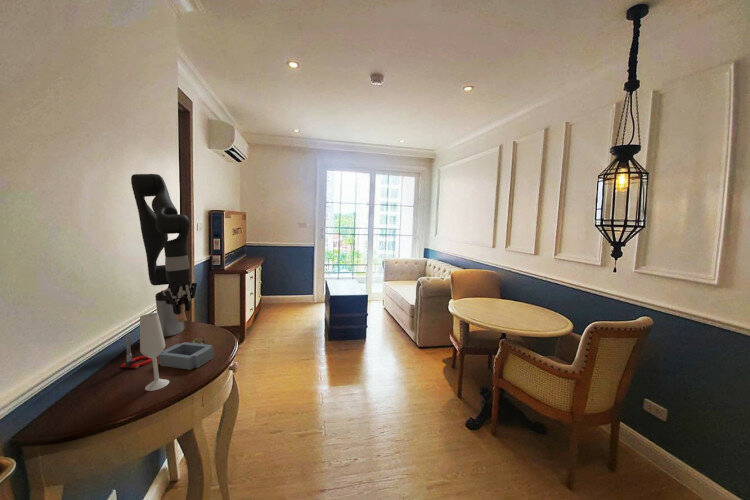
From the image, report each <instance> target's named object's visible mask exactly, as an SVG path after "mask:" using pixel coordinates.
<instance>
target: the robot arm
mask: <svg viewBox="0 0 750 500" xmlns="http://www.w3.org/2000/svg"><path fill="white" fill-rule="evenodd" d="M130 183H131V188H132V192H133V196H134V200H135V204H136V207H137V208H136V209H137V212H138V219H139V224H140V230H141V231H140V232H141V236H142V241H143V245H144V250H145V254H146V255H145V256H146V262H147V271H148V272H147V273H148V279H149V283H150V284H151V286H165V285H168V286H167V288H166V289H163V290H161V291H159V292H157V293H156V294H155V297H154V298H155V305H156V313H157V314H158V316H159V320H160V324H161V328H162V332H163V337H164V338H165V337H171V336H176V335H178V334H181V333H182V332H183V331H184V330H185V321H184V322H179V320H177V315H179V314H181V312H180V305H179V300H180V298H181V292H182V290H184V291H185V292H186V293H185V294H184V295H183V296H182V297H183V298H184V301H185V311H186V312H189V311H191V308H192V307H191V300H192V299H195V296H196V291H197V287H198V283H197V282H191V280H190V279H191V278H192V277H191V269H190V259H189V257H188V245H187V244H188V238H189V237H188V236H189V232H190V229H191V220H190V219H189V217H188V216H187V215H185V214H183V213H181V214H179V213H178V209H177V208H176V206H175V205H174V203H173V202H172V200H171V199H172V198H171V197H170V193H169V190H168V188H167V185H166V184H167V183H166V182H165V180H164V177H162V175H160V174H158V173H136V174H132V175H131V177H130ZM146 197H153V199H152V201H151V207H150V206H149V204H148V203H147V201H146ZM170 234H172V235H174V234H177V237H176V238H173V239H170V240H169V235H170ZM163 250H164V259H165V260H164V264H163V265H162V264H161V265H160V264H159V265H157V261H158V258H159V256H160V254H161V252H162V251H163ZM176 295H177V296H176Z"/></svg>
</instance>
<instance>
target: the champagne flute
mask: <svg viewBox="0 0 750 500" xmlns="http://www.w3.org/2000/svg"><path fill="white" fill-rule="evenodd" d="M165 341H166V340H165V337H163V332H162V328H161V324H160V320H159V316H158V314H157V312H154V313H153V312H152V313H146V314H142V315H140V317H139V351H140V353H141V355H142V356H147V357H149V358H152V362H151V363H152V368H153V377H154V380H152V381H151V382H149V383H148V384H147V385H146V386H145V388H144V389H145V390H146V391H148V392H151V391H157V390H160V389H162V388H165V387H166V386H168V385H169V384H170V380H169V379H166V378H165V379H164V378H160V375H159V366H158V360H157V357H159V354H161V352H162V351H163V350H165V349H166V342H165Z"/></svg>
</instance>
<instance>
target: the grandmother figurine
mask: <svg viewBox="0 0 750 500" xmlns="http://www.w3.org/2000/svg"><path fill="white" fill-rule="evenodd" d="M185 293H186V292H185V291H184V290H182V292H181V298H180V300H179V305H180V312H181V314H179V315H177V320H179V322H184V323H185V322H187V321H188V319H187V316H186V312H185V301H184V298H183V297H182V296H183V295H184V294H185ZM176 296H177V295H176Z"/></svg>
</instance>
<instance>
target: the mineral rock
mask: <svg viewBox="0 0 750 500" xmlns="http://www.w3.org/2000/svg"><path fill="white" fill-rule="evenodd" d="M188 343H198V344H204V343H205V339H203V338H202V337H195V338H193V339H192V340H190V341H189V342H188Z"/></svg>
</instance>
